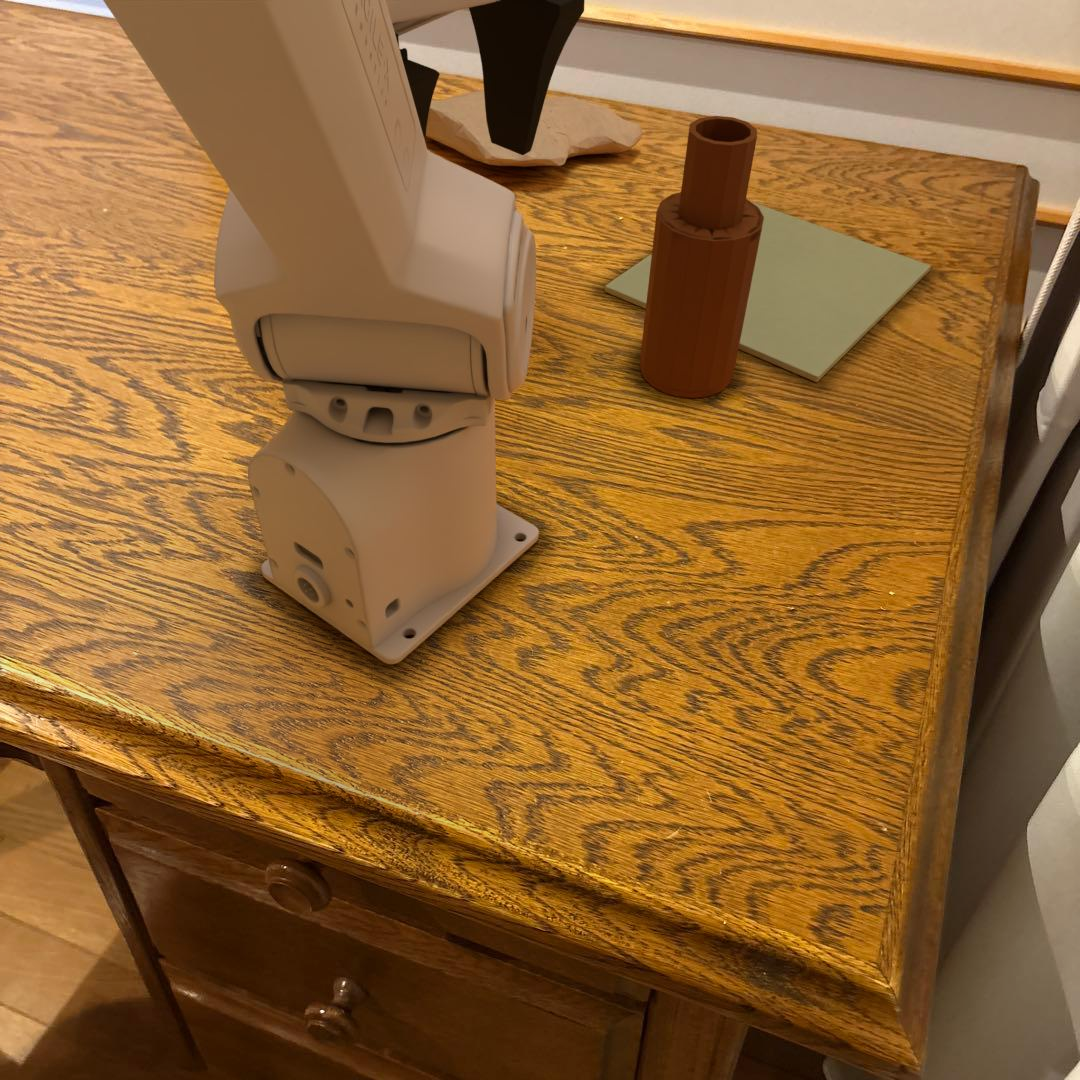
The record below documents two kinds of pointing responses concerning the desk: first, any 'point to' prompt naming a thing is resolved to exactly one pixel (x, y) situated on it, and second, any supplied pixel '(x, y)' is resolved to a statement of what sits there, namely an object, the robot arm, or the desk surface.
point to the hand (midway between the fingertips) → (458, 176)
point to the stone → (557, 137)
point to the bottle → (702, 264)
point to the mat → (806, 293)
